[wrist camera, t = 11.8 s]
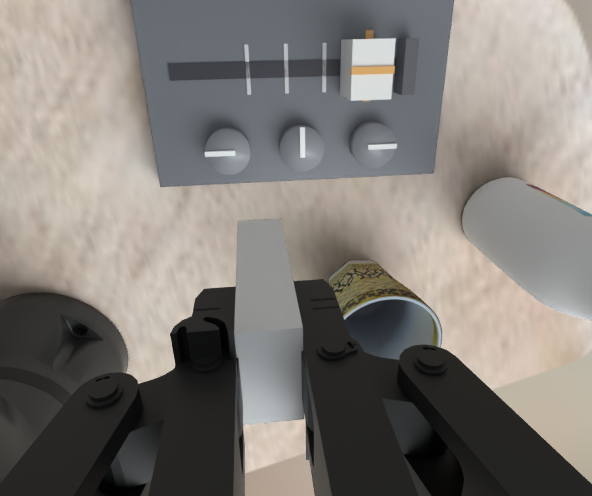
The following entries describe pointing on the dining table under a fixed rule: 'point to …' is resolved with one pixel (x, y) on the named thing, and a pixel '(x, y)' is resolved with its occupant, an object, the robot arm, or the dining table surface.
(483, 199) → the milk bottle
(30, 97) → the dining table surface
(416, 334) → the ceramic cup
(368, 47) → the fader cap
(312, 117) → the console
